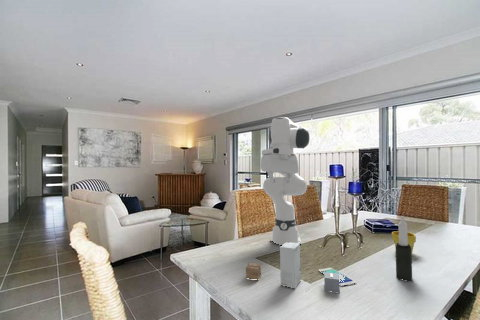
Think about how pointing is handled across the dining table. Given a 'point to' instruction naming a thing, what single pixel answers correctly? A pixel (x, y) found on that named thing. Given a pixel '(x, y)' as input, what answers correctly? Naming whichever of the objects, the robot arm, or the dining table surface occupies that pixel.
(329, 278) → the slate block
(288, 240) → the robot arm
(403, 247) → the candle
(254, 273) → the walnut block
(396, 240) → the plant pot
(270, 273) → the dining table surface
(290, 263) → the skincare box
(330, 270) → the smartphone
